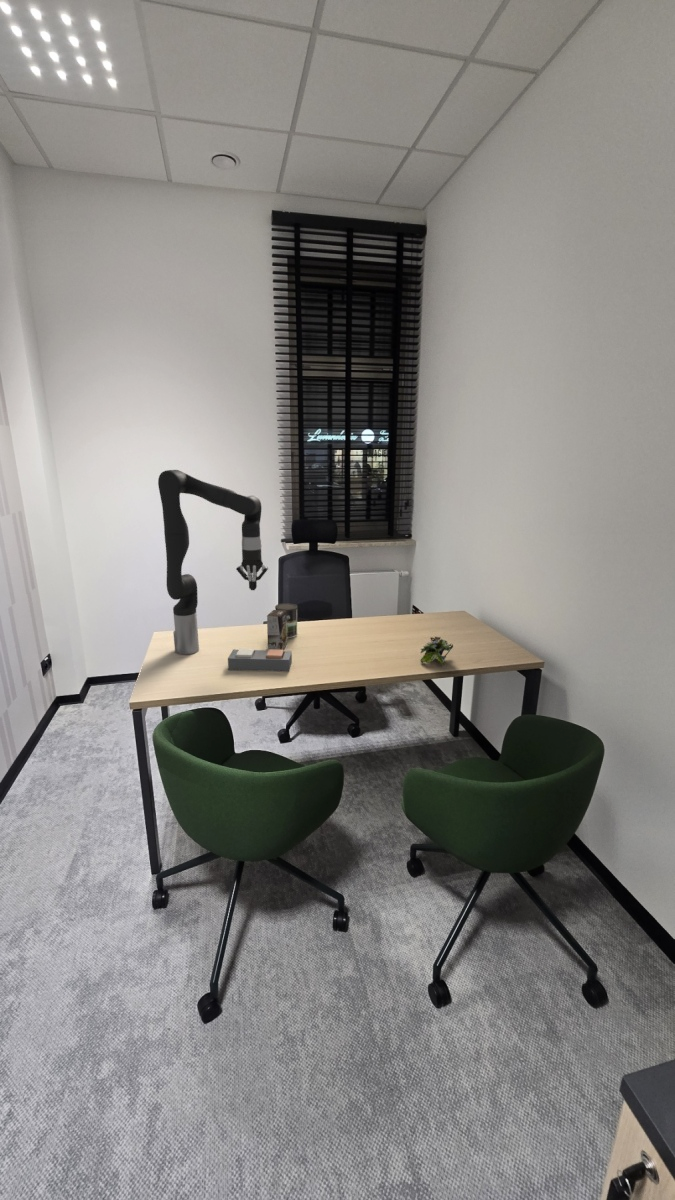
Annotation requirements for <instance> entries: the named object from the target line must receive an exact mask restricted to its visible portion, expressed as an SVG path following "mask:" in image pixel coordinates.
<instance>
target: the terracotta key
mask: <svg viewBox="0 0 675 1200" xmlns="http://www.w3.org/2000/svg"><path fill="white" fill-rule="evenodd" d="M284 651H285V649H283V650H275V649H269V651H268V653H267V658H280V659H283V656H284Z"/></svg>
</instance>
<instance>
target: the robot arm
mask: <svg viewBox="0 0 675 1200" xmlns="http://www.w3.org/2000/svg"><path fill="white" fill-rule="evenodd" d="M157 482H158V483H157V485H158V490H159V496H160V501H161V502H160V503H161V507H162V516H163V517H162V519H163V529H164V530H163V531H164V534H163V535H164V542H165V543H164V544H165V555H166V589H167V594H168V595H169V597H170V598H171V599H172V600H176V601H177V600H178V602H177V603H176V604H175V605H173V608H172V609H173V612H172V613H173V622H174V624H173V625H174V630H173V644H174V653H176V654H179V655H193V654H195V653H197V652H198V651H199V649H200V644H199V643H200V641H199V632H198V631H199V630H198V628H199V627H198V618H197V616H198V614H197V607H198V605H199V604H198V602H199V601H198V584H197V580H196V579H195V577H194V576H193V575H192V574H190V573H185V574H182V569H183V568H182V567H183V563H184V560H185V558H186V555H187V553H188V550H189V546H190V534H189V526H188V523H187V520H186V517H185V516H184V514H183V511H182V509H181V508H182V507H181V497H180V495H181V494H185V495H193V496H197V497H199V498H201V499H204V500H205V501H208V502H209V503H211V504H214V505H216V506H220V507H223V508H226V509H230V510H232V511H234V512H236V513H238V514H241V515H243V516H244V520H243V522H242V523H241V558H242V559H241V563H240V565H239V566H237V567H236V572H238V574H240V576H241V577H242V578H243V580H245V581H248V588H249V590H250V591H255V590H256V589H257V587H258V584H257V583H258V582H257V581H260V580H261V579H262V577H264V575H265V574H266V572H267V571H268V570H269V567H268V566H265V565H264V564H263V559H262V540H261V527H260V524H261V517H262V502H261V500H260V498H259V497H258V496H256V495H247V496H246V495H242V494H240V493H238V492H236V491H234V490H232V489H229V488H226V487H222V486H220V485H219V486H218V485H215V484H213V483H209V482H206V481H203V480H201V479H198V478H196V477H193V476H191V475H189V474H187V473H186V472H183V471H181V470H179V469H167V470H164V471H162V472H161V473H160V474H159V476H158V481H157ZM259 571H261V572H260V574H259V575H258V572H259Z"/></svg>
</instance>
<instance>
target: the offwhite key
mask: <svg viewBox="0 0 675 1200" xmlns="http://www.w3.org/2000/svg"><path fill="white" fill-rule="evenodd" d="M238 650H239V651H238V652H237V654H236V657H238V658H252V657H253V655H254V650H255V649H254V648H239V649H238Z"/></svg>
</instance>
